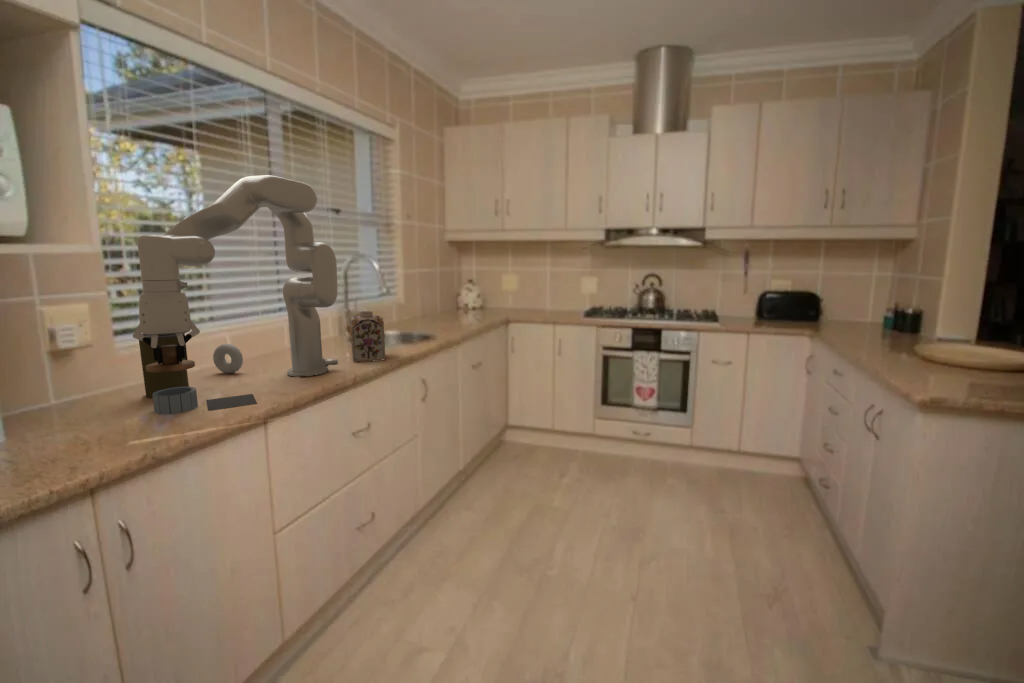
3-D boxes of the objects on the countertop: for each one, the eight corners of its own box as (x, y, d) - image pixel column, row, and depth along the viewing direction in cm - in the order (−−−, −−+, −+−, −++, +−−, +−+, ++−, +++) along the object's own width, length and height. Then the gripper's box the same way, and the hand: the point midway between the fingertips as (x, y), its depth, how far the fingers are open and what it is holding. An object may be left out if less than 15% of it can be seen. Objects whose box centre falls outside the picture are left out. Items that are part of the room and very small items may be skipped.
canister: (160, 402, 131) (150, 328, 128) (136, 397, 135) (127, 325, 132) (200, 392, 141) (192, 322, 137) (177, 388, 145) (169, 320, 142)
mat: (252, 395, 138) (252, 393, 137) (257, 405, 128) (257, 403, 128) (206, 402, 132) (206, 399, 131) (208, 413, 123) (207, 410, 122)
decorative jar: (352, 362, 180) (349, 313, 177) (351, 356, 191) (349, 310, 188) (386, 360, 184) (384, 312, 181) (383, 354, 195) (381, 309, 191)
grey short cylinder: (197, 403, 131) (195, 385, 130) (198, 412, 123) (196, 392, 122) (156, 409, 126) (153, 389, 125) (154, 418, 118) (151, 398, 117)
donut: (212, 374, 162) (208, 344, 161) (219, 371, 166) (216, 342, 164) (239, 375, 161) (236, 345, 159) (246, 372, 164) (244, 343, 162)
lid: (194, 362, 129) (192, 341, 128) (195, 369, 121) (193, 347, 120) (147, 366, 124) (144, 344, 123) (144, 374, 115) (141, 351, 114)
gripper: (202, 285, 127) (209, 356, 130) (120, 287, 118) (129, 363, 121) (203, 287, 120) (210, 361, 123) (116, 289, 111) (126, 368, 114)
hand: (170, 361), depth 122 cm, fingers closed on lid, 3 cm apart
